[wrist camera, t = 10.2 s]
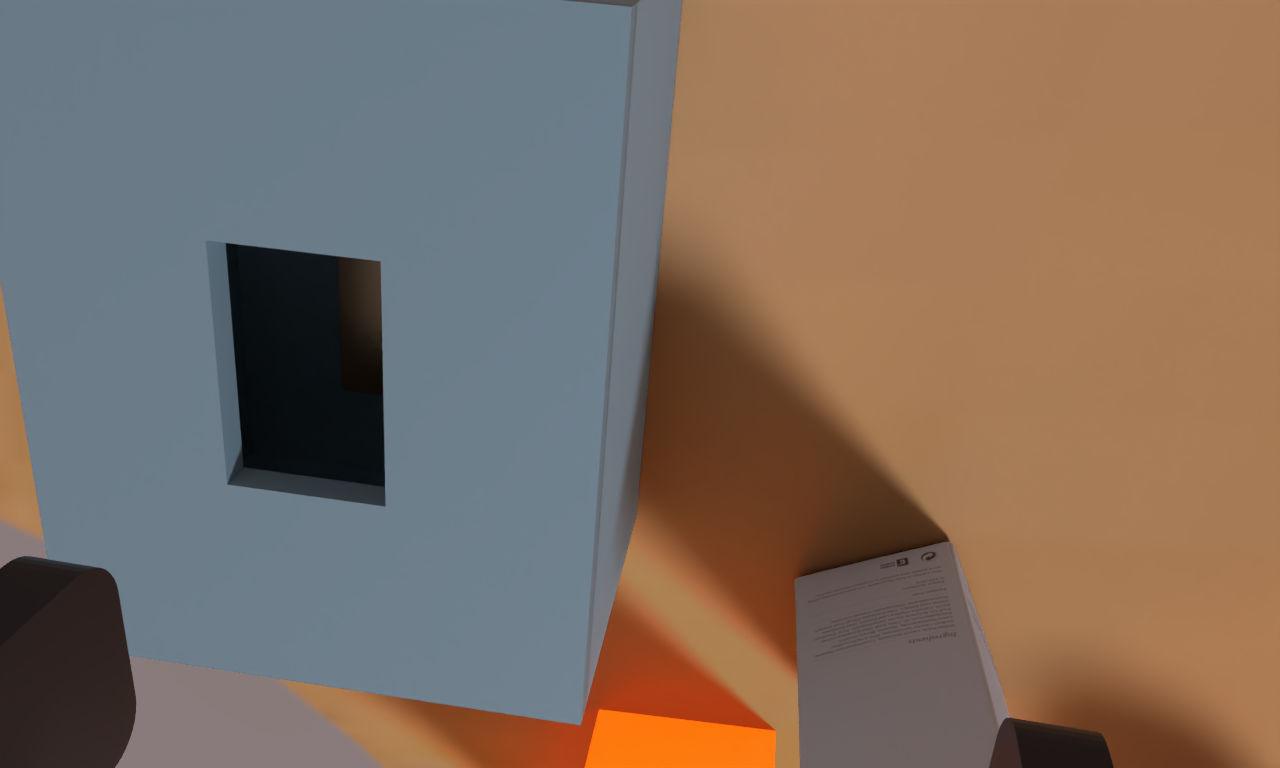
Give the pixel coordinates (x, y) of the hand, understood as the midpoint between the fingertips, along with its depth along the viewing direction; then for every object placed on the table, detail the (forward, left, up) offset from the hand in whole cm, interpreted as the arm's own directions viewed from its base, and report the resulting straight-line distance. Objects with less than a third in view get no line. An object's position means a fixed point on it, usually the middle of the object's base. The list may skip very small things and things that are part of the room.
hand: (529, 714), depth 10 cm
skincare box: (-9, +20, -30) cm, 37 cm away
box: (+10, +6, -30) cm, 32 cm away
